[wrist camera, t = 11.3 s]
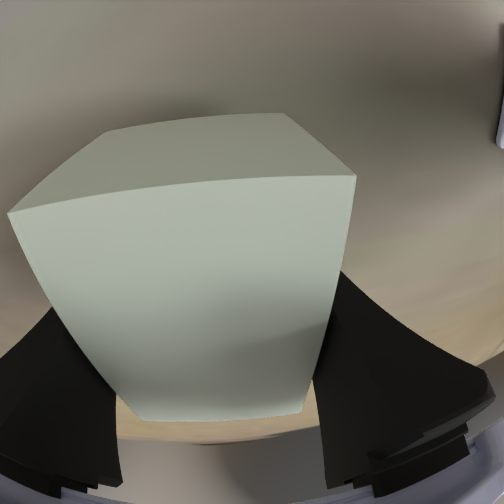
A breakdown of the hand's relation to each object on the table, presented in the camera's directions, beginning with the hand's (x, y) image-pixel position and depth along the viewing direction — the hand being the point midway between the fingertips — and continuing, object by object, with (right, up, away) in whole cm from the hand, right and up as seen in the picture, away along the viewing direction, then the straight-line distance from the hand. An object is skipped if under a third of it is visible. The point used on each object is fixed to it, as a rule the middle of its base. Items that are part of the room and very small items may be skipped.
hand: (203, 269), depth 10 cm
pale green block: (0, +1, +1) cm, 2 cm away
